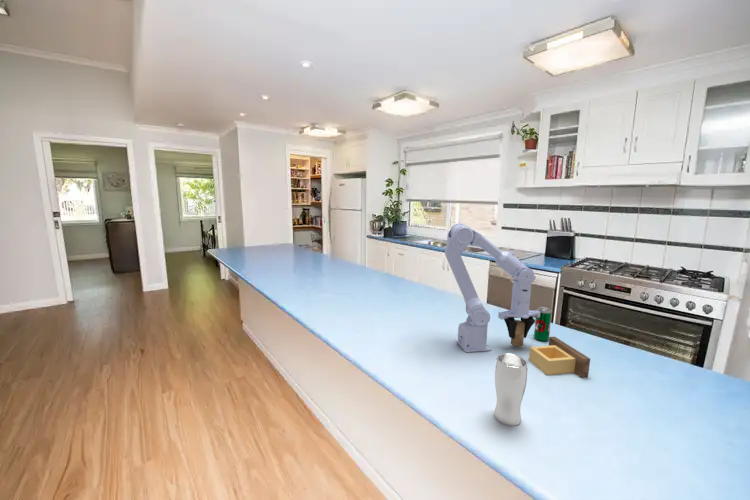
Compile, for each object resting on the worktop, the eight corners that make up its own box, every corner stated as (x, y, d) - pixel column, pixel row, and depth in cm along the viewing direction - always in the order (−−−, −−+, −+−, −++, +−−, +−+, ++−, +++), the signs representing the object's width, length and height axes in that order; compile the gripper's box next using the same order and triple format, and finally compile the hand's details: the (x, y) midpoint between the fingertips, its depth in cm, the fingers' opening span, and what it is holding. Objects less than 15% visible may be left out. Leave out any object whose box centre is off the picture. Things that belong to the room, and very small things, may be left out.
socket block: (547, 374, 97) (548, 361, 96) (528, 359, 106) (530, 347, 105) (574, 372, 98) (575, 358, 97) (553, 357, 107) (555, 345, 106)
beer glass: (487, 408, 82) (491, 353, 79) (513, 407, 82) (518, 352, 80) (500, 428, 75) (504, 368, 72) (528, 426, 75) (534, 367, 73)
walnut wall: (581, 378, 95) (584, 359, 94) (547, 353, 110) (549, 336, 109) (587, 377, 95) (590, 358, 94) (553, 353, 110) (554, 336, 109)
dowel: (514, 346, 111) (516, 324, 110) (508, 341, 115) (510, 320, 114) (525, 345, 112) (527, 324, 111) (518, 340, 116) (520, 319, 115)
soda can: (550, 342, 118) (553, 311, 116) (535, 341, 119) (538, 310, 117) (546, 336, 123) (549, 306, 121) (532, 335, 124) (534, 305, 122)
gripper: (507, 304, 106) (504, 343, 108) (547, 302, 108) (543, 340, 110) (496, 298, 113) (493, 334, 115) (534, 296, 115) (531, 332, 117)
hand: (517, 337), depth 113 cm, fingers closed on dowel, 4 cm apart
